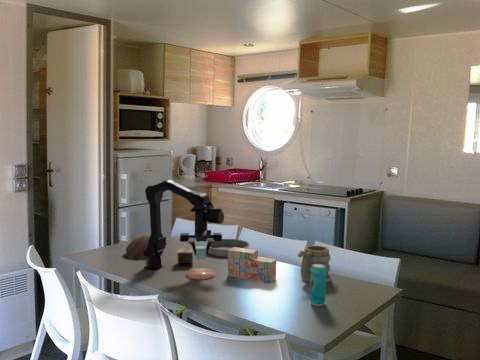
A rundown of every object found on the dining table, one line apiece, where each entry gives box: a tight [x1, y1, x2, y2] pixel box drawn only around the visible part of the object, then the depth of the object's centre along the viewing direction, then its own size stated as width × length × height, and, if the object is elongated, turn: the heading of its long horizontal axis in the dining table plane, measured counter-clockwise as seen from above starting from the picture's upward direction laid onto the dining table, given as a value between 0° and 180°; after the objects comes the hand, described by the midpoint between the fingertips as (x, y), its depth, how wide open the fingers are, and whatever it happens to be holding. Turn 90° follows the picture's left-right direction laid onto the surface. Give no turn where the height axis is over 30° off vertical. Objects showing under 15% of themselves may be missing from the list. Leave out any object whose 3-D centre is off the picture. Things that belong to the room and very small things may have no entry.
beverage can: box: [309, 264, 327, 307], centre depth 178 cm, size 6×6×15 cm
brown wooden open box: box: [177, 247, 194, 268], centre depth 229 cm, size 7×7×7 cm
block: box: [195, 245, 207, 260], centre depth 212 cm, size 4×4×5 cm
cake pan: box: [204, 238, 251, 258], centre depth 255 cm, size 25×25×4 cm
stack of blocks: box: [227, 247, 277, 284], centre depth 209 cm, size 21×6×12 cm, turn 62°
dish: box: [186, 267, 217, 281], centre depth 213 cm, size 13×13×1 cm
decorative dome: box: [124, 235, 163, 260], centre depth 247 cm, size 19×20×10 cm
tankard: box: [297, 245, 332, 283], centre depth 206 cm, size 20×13×15 cm, turn 134°
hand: (200, 255), depth 212 cm, fingers closed on block, 4 cm apart
